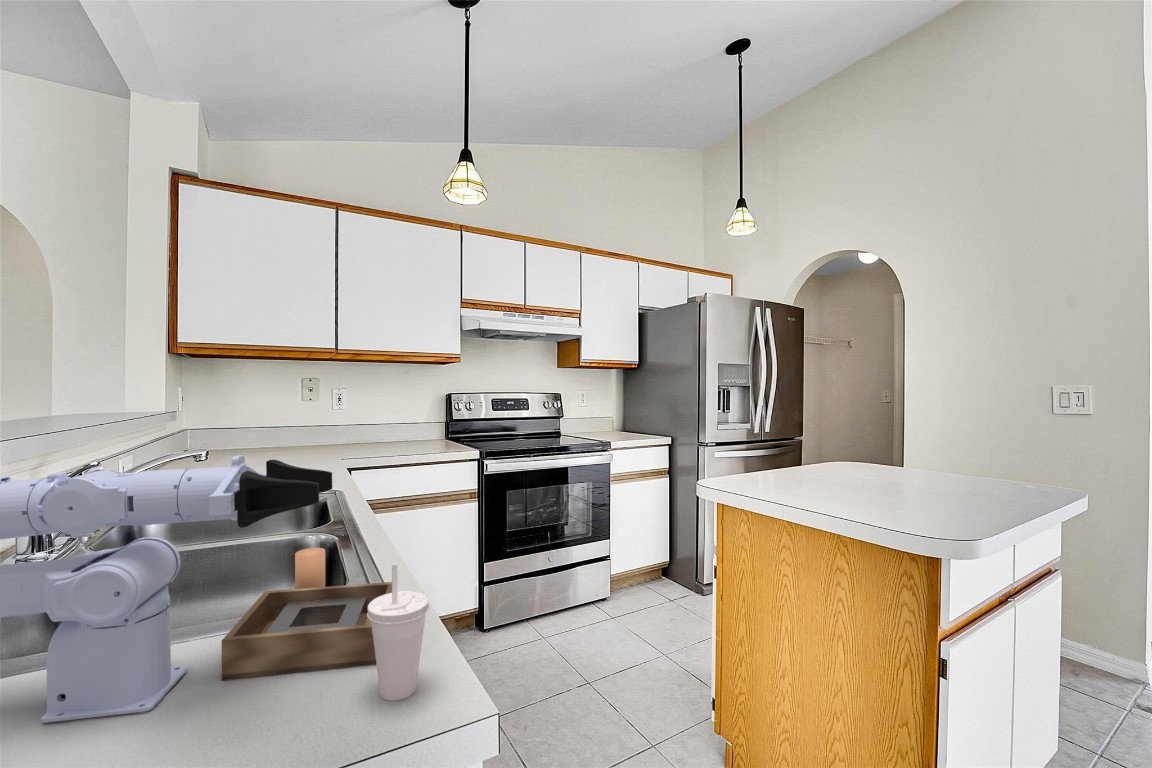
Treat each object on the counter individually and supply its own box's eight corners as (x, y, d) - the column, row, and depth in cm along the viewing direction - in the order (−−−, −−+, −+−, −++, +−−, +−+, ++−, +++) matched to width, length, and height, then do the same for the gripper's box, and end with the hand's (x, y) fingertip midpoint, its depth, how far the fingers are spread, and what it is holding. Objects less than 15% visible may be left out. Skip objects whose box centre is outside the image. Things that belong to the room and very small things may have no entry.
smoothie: (353, 697, 57) (353, 566, 57) (399, 668, 63) (399, 549, 63) (397, 715, 54) (397, 577, 54) (441, 683, 60) (441, 558, 60)
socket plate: (262, 662, 63) (262, 637, 63) (288, 623, 73) (288, 602, 73) (353, 653, 65) (353, 629, 65) (366, 616, 75) (367, 596, 75)
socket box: (221, 680, 60) (221, 640, 60) (265, 623, 74) (265, 591, 74) (381, 663, 64) (381, 626, 64) (394, 612, 77) (395, 581, 77)
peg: (291, 612, 77) (291, 557, 77) (299, 601, 81) (299, 548, 81) (321, 610, 78) (321, 555, 78) (328, 599, 82) (328, 547, 82)
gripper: (155, 468, 51) (310, 459, 55) (215, 450, 65) (336, 445, 69) (157, 541, 51) (311, 529, 55) (216, 508, 65) (337, 500, 69)
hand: (325, 486), depth 62 cm, fingers open, 7 cm apart
